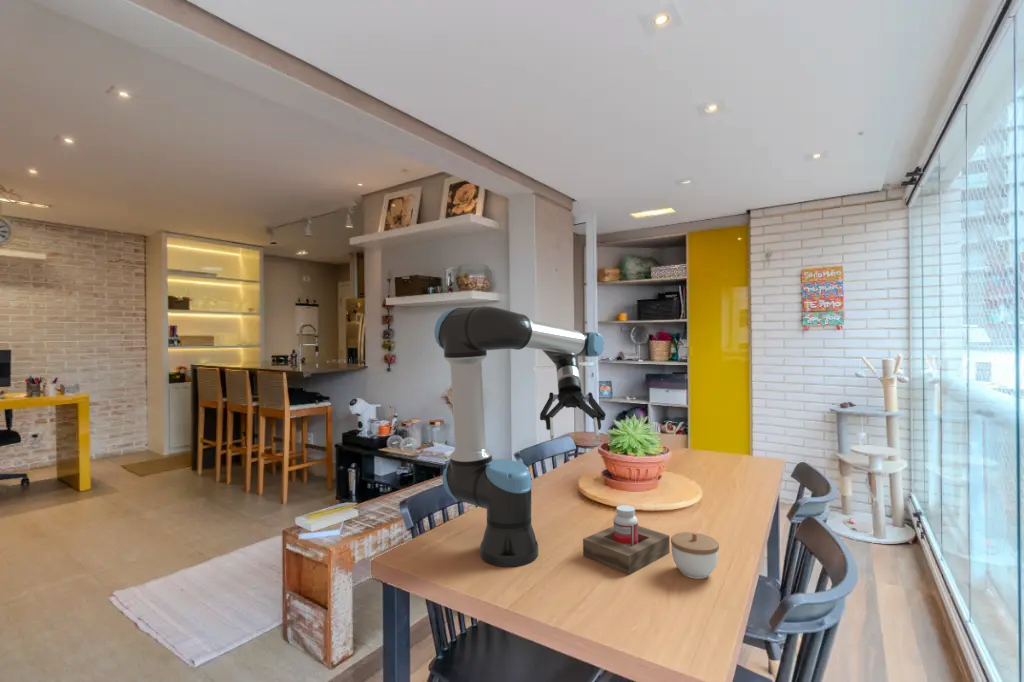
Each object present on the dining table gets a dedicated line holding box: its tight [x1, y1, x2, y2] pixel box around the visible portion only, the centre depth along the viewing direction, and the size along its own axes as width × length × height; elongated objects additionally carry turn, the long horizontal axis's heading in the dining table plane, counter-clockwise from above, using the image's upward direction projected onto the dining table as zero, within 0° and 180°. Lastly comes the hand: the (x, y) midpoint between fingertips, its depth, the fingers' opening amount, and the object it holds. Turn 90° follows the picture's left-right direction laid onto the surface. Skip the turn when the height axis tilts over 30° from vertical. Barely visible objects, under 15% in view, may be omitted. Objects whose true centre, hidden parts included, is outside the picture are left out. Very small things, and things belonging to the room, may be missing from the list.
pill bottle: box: [613, 504, 639, 547], centre depth 131 cm, size 6×6×11 cm
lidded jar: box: [670, 531, 720, 580], centre depth 121 cm, size 11×11×9 cm
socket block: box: [582, 525, 671, 576], centre depth 131 cm, size 18×14×4 cm
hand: (574, 438), depth 152 cm, fingers open, 13 cm apart
